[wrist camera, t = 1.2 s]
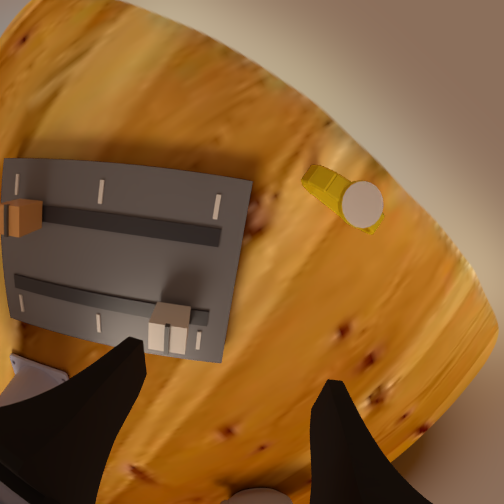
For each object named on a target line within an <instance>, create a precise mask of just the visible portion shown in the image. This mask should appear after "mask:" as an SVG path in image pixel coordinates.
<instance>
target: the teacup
mask: <svg viewBox="0 0 504 504" xmlns="http://www.w3.org/2000/svg"><path fill="white" fill-rule="evenodd" d="M220 504H293V503H292V501H291V499H290V498H289V497H288V496H287V495H285V494H283V493H281V492H278V491H277V490H274V489H270V488H253V489H247V490H243V491H240V492H238V493H236V494H234V495H233V497H231V498H229V499H228V500H224V501H222V502H221V503H220Z"/></svg>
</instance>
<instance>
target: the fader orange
mask: <svg viewBox="0 0 504 504" xmlns="http://www.w3.org/2000/svg"><path fill="white" fill-rule="evenodd" d="M42 204H43V201H39V200H30V199H16V200H11V201H7V202H3V203H0V234H3V235H4V237H9V236H13V237H22V236H24V235H26V234H29V233H31V232H34V231H36V230H38V229H41V228H42Z"/></svg>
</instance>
